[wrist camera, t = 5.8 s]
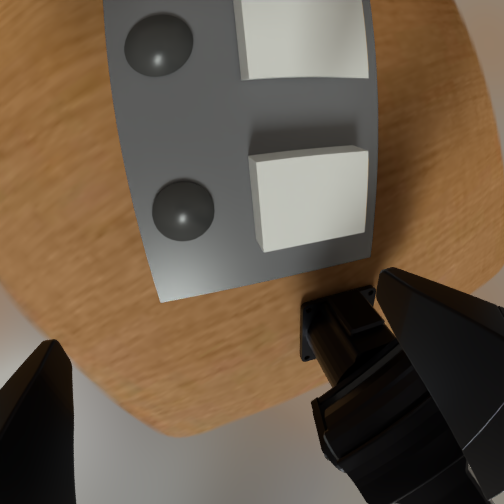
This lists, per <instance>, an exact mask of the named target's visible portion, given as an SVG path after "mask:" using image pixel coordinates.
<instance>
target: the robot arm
mask: <svg viewBox="0 0 504 504" xmlns="http://www.w3.org/2000/svg"><path fill="white" fill-rule="evenodd" d="M369 291H370V292H369ZM375 294H376V298H377V301H378V303H379V305H380V307H381V309H382V311H383V313H384V315H385V317H386V318H387V320H388V322H389V324H390V326H391V328H392V330H393V332H394V334H395V336H396V337H395V336H394V334H393V333H392V332H391V331H390V329H389V328H388V327H387V326H386V325H385V323H384V322H385V321H384V319H383V318H382V317H381V316H380V315H379V314H378V312H377V311H376V310H375V309H374V308H373V305H374V300H375ZM307 308H309V309H307ZM306 309H307V310H306ZM300 357H301V359H302V361H304V362H306V361H310V360H313V359H317V360H318V362H319V364H320V366H321V368H322V370H323V372H324V373H325V375H326V377H327V379H328V381H329V383H330V384H331V386H332V388H331V389H330V390H329V391H327V392H326V393H325V394H323V395H322V396H320V397H319V398H316V399H314V400H313V401H312V402H311V405H312V409H313V416H314V420H315V424H316V428H317V432H318V436H319V441H320V445H321V449H322V451H323V453H324V456H325V458H326V459H327V460H329V461H331V462H332V463H333V465H334V466H335V467H336V468H338V469H339V470H340V471H342V472H344V473H347V474H348V476H349V477H350V478H351V479H352V481H353V482H354V483H355V485H356V486H357V488H358V489H359V491H360V493H361V494H362V496H363V497H364V499H365V501H366V502H367V503H368V504H393V503H394V504H494V502H493V501H492V498H494V497H495V496H497V495H498V494H500V493H502V492H503V491H504V308H503V307H500V306H498V307H497V305H495V304H493V303H490V302H487V301H484V300H482V299H480V298H477V297H474V296H472V295H469V294H466V293H464V292H461V291H458V290H456V289H453V288H450V287H448V286H445V285H442V284H440V283H437V282H434V281H431V280H429V279H426V278H423V277H420V276H418V275H415V274H412V273H409V272H407V271H404V270H401V269H398V268H395V267H390V268H387V269H383V270H382V271H381V272H380V274H379V279H378V285H377V291H376V289H375V288H374V287H373V286H372V285H368V286H365V287H361V288H358V289H354V290H350V291H347V292H343V293H339V294H336V295H332V296H328V297H324V298H321V299H317V300H313V301H309V302H306V303H304V304H303V305H302V306H301V336H300ZM72 387H73V385H72V364H71V361H70V359H69V357H68V356H67V354H66V353H65V351H64V349H63V348H62V346H61V345H60V343H59V342H58V341H57V340H55V339H52V340H45V341H43V342H42V343H41V344H40V345H39V346H38V347H37V348H36V349H35V350H34V352H33V353H32V354H31V355H30V356H29V357H28V358H27V359H26V360H25V362H24V363H23V364H22V365H21V366H20V367H19V368H18V370H17V371H16V372H15V373H14V374H13V375H12V376H11V378H10V379H9V380H8V381H7V382H6V383H5V385H4V386H3V387H2V388H1V389H0V504H76V495H75V480H74V445H73V444H74V439H73V438H74V437H73V436H74V406H73V388H72ZM468 463H469V465H470V466H469V465H468ZM470 467H471V468H470Z"/></svg>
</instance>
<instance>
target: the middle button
mask: <svg viewBox="0 0 504 504" xmlns="http://www.w3.org/2000/svg"><path fill="white" fill-rule="evenodd" d="M233 4H234V14H235V23H236V33H237V43H238V53H239V62H240V72H241V80H254V79H269V78H294V77H334V78H369V74H368V70H369V69H368V54H367V42H366V31H365V22H364V13H363V5H362V0H233Z"/></svg>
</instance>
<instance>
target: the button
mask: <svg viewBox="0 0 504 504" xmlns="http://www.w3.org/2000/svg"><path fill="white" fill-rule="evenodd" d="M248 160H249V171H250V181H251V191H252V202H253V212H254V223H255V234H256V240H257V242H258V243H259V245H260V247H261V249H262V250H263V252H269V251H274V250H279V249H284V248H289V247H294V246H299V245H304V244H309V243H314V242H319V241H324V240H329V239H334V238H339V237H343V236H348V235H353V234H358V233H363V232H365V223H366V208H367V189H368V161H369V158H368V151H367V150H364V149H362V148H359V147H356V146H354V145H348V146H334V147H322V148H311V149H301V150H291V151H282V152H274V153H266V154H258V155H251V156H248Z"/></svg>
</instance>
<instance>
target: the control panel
mask: <svg viewBox="0 0 504 504" xmlns="http://www.w3.org/2000/svg"><path fill="white" fill-rule="evenodd" d="M362 5H363V13H364V22H365V31H366V42H367V54H368V69H369V70H368V74H369V78H334V77H294V78H269V79H254V80H241V72H240V62H239V53H238V43H237V33H236V23H235V14H234V4H233V0H103V6H104V23H105V36H106V47H107V57H108V66H109V75H110V83H111V90H112V97H113V104H114V110H115V117H116V123H117V128H118V134H119V140H120V145H121V150H122V155H123V160H124V165H125V170H126V175H127V180H128V184H129V189H130V193H131V197H132V202H133V206H134V210H135V214H136V218H137V222H138V226H139V230H140V234H141V237H142V241H143V245H144V248H145V252H146V256H147V259H148V263H149V266H150V270H151V273H152V276H153V280H154V283H155V286H156V289H157V293H158V296H159V299H160V302H161V303H162V302H168V301H173V300H178V299H183V298H188V297H193V296H198V295H203V294H208V293H213V292H217V291H222V290H227V289H232V288H237V287H241V286H246V285H251V284H255V283H260V282H265V281H269V280H274V279H278V278H283V277H287V276H292V275H296V274H300V273H305V272H309V271H313V270H318V269H322V268H326V267H331V266H335V265H339V264H343V263H348V262H352V261H356V260H360V259H364V258H368V257H371V248H372V238H373V228H374V216H375V202H376V186H377V163H378V92H377V70H376V54H375V42H374V31H373V22H372V13H371V5H370V0H362ZM348 145H354V146H356V147H359V148H362V149H364V150H367V151H368V158H369V161H368V189H367V208H366V223H365V232H363V233H358V234H353V235H348V236H343V237H339V238H334V239H329V240H324V241H319V242H314V243H309V244H304V245H299V246H294V247H289V248H284V249H279V250H274V251H269V252H263V250H262V249H261V247H260V245H259V243H258V242H257V240H256V234H255V223H254V212H253V202H252V191H251V181H250V171H249V160H248V156H251V155H258V154H266V153H274V152H282V151H291V150H301V149H311V148H322V147H334V146H348Z"/></svg>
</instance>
